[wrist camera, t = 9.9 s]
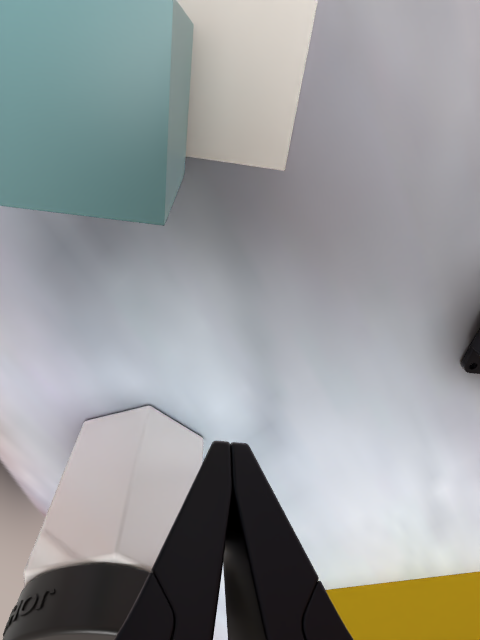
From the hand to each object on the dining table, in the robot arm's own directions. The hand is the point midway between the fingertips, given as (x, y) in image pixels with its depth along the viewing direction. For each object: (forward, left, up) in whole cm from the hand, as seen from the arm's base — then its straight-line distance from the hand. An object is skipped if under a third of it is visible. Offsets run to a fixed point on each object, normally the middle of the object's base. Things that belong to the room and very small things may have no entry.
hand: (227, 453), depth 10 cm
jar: (+4, +15, -13) cm, 20 cm away
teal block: (+5, -6, -11) cm, 14 cm away
